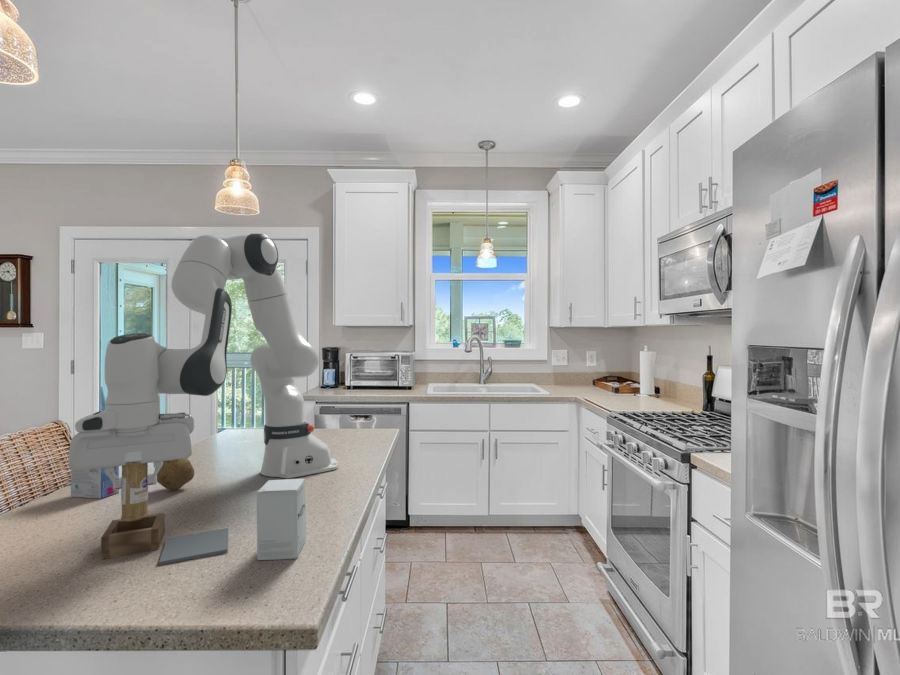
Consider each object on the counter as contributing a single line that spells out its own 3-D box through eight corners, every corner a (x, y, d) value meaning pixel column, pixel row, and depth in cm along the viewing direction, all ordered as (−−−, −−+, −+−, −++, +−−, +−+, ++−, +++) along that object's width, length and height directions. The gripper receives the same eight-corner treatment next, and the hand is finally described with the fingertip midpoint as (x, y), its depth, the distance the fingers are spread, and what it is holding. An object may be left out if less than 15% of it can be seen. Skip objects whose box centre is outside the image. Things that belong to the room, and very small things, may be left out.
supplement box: (298, 559, 85) (296, 489, 85) (256, 561, 85) (254, 491, 85) (307, 541, 93) (306, 477, 93) (268, 543, 92) (267, 479, 92)
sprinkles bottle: (142, 521, 91) (143, 451, 91) (116, 523, 90) (116, 452, 90) (152, 512, 95) (152, 446, 95) (126, 514, 94) (127, 447, 94)
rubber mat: (227, 530, 98) (227, 527, 98) (227, 552, 88) (227, 549, 88) (167, 541, 94) (167, 538, 94) (159, 565, 84) (159, 561, 84)
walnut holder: (164, 531, 98) (164, 512, 98) (158, 549, 90) (158, 528, 90) (112, 540, 94) (112, 520, 94) (101, 559, 86) (101, 537, 86)
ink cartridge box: (121, 492, 124) (120, 437, 124) (101, 499, 119) (100, 442, 118) (90, 490, 126) (89, 436, 126) (69, 497, 121) (68, 441, 120)
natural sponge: (146, 492, 123) (145, 454, 123) (179, 482, 131) (178, 447, 131) (166, 497, 119) (166, 458, 119) (199, 487, 127) (199, 450, 127)
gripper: (194, 409, 99) (196, 474, 100) (74, 418, 91) (76, 489, 91) (192, 413, 94) (194, 482, 94) (64, 424, 85) (66, 499, 85)
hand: (135, 486), depth 92 cm, fingers closed on sprinkles bottle, 4 cm apart
